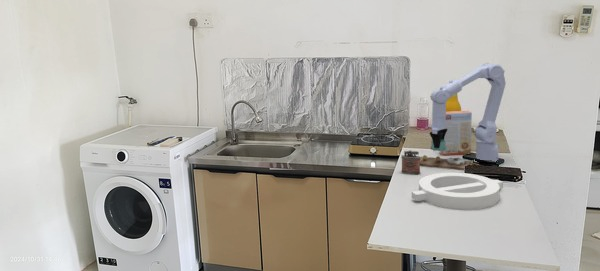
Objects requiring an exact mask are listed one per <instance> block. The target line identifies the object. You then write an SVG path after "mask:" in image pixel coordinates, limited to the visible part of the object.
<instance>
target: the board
mask: <svg viewBox="0 0 600 271" xmlns="http://www.w3.org/2000/svg"><path fill="white" fill-rule="evenodd" d="M471 164H472V161H471V160H466V159H465V158H460V157H449V158H443V157H442V158H441V157H440V156H436V157H429V156H427V155H426V154H424V155H423V156H420V167H429V168H437V169H438V168H439V169H448V170H458V171H465V170H464V169H465V166H467V165H470V166H471Z"/></svg>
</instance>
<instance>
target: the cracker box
mask: <svg viewBox="0 0 600 271" xmlns="http://www.w3.org/2000/svg"><path fill="white" fill-rule="evenodd" d="M472 115H473V114H472V111H470V110H461V111H448V112H446V128H445V129H448V130H447V132H446V134H445V137H444V140H445V141H446V143H445V146H446V149H445V150H444V151H439V154H440V155H441V156H458V155H459V156H465V155H466V154H468V153H471V154H472V152H471V151H472V118H473V117H472ZM466 156H467V155H466Z"/></svg>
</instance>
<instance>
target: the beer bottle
mask: <svg viewBox="0 0 600 271" xmlns="http://www.w3.org/2000/svg"><path fill="white" fill-rule="evenodd" d="M458 96H459V95H458V93H457V94H455V95H453V96H452V97H450V98H448V100H447V102H446V112H448V111H462V107H461V104H460V102H459V99H458Z"/></svg>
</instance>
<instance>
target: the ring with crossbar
mask: <svg viewBox="0 0 600 271" xmlns="http://www.w3.org/2000/svg"><path fill="white" fill-rule="evenodd" d="M418 181H419V182H418V190H415V191H411V199H412V200H414V201H416V202H417V201H419V202H420V201H424V202H425V203H427V204H431V205H433V206H437V207H440V208H446V209H452V210H453V209H454V210H479V209H484V208H485V209H486V208H490V207H492V206H494V205H497V203H498V202H500V190H502V189H503V188H504V182H503V181H501V180H499V179H492V178H488V177H486V176H484V175H478V174H473V173H464V172H440V173H439V172H438V173H432V174H429V175H426V176H424V177H422V178H421V179H419V180H418Z"/></svg>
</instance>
